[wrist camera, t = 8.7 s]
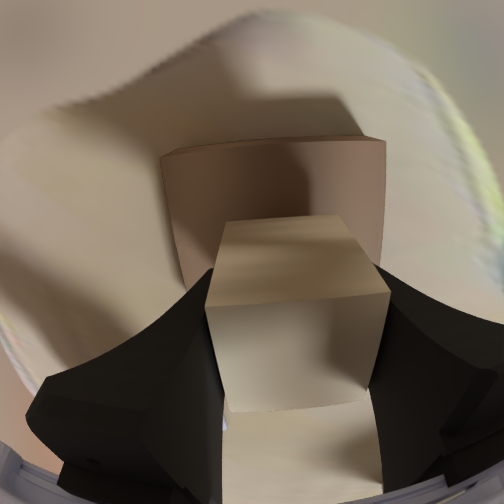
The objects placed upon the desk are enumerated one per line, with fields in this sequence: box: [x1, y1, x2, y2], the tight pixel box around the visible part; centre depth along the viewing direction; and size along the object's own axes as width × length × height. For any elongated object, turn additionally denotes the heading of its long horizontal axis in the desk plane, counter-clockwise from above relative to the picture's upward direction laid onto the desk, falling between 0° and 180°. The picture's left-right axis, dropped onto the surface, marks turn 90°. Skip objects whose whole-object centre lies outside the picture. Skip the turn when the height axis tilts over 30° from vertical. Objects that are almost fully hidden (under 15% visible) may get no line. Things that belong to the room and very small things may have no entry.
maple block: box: [205, 214, 391, 412], centre depth 9 cm, size 4×4×5 cm
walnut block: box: [160, 135, 386, 292], centre depth 14 cm, size 9×9×3 cm
